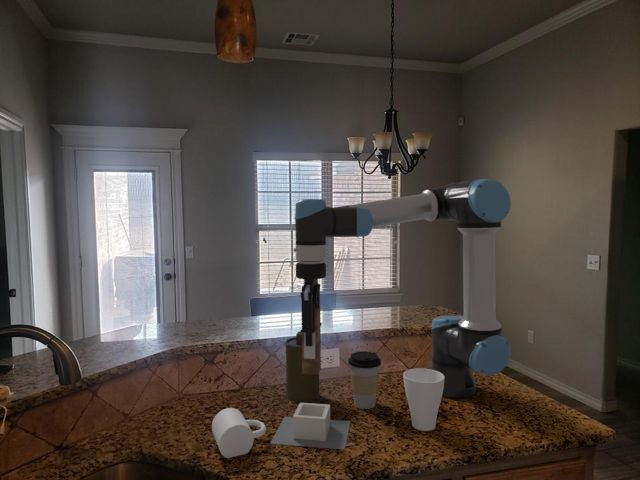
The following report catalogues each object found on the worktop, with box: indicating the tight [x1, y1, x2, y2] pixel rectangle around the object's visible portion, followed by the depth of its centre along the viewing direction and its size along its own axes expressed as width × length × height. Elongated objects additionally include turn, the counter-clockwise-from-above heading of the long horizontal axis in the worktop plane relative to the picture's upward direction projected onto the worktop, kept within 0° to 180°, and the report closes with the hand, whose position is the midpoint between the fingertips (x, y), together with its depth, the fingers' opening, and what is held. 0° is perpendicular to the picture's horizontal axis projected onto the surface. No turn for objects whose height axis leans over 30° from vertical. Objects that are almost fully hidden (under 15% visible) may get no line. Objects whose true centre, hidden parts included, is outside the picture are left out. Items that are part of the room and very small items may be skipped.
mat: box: [269, 416, 351, 450], centre depth 110 cm, size 18×14×1 cm
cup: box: [402, 367, 445, 432], centre depth 114 cm, size 10×10×14 cm
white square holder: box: [292, 402, 331, 441], centre depth 110 cm, size 8×8×6 cm
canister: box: [284, 331, 321, 403], centre depth 132 cm, size 11×10×20 cm
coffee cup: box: [347, 350, 382, 410], centre depth 125 cm, size 9×9×15 cm
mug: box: [211, 407, 267, 459], centre depth 104 cm, size 12×10×8 cm
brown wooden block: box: [302, 305, 322, 375], centre depth 108 cm, size 4×4×16 cm
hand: (311, 354), depth 108 cm, fingers closed on brown wooden block, 4 cm apart
